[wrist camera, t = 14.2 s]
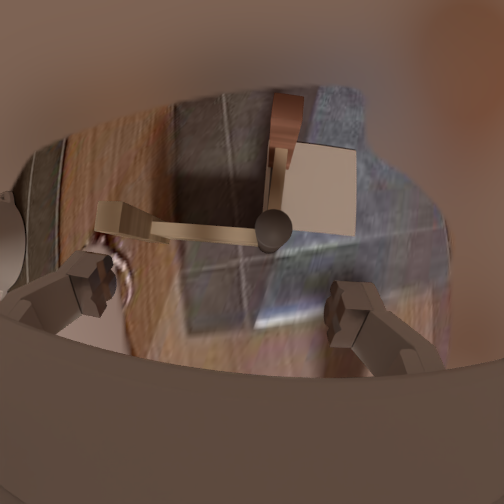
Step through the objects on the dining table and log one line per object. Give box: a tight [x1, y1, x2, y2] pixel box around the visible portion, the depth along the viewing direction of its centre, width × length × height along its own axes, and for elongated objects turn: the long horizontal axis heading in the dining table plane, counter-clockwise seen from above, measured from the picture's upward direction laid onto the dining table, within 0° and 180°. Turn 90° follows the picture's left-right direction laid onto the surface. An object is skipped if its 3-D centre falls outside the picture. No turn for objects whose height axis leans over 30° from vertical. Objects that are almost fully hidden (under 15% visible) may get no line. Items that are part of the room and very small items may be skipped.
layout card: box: [263, 140, 356, 236], centre depth 32 cm, size 11×11×1 cm
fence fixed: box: [94, 201, 292, 254], centre depth 26 cm, size 15×3×13 cm, turn 85°
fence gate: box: [268, 93, 304, 210], centre depth 26 cm, size 9×2×12 cm, turn 172°
